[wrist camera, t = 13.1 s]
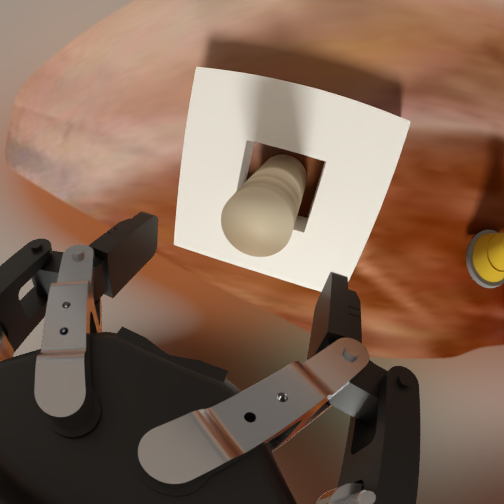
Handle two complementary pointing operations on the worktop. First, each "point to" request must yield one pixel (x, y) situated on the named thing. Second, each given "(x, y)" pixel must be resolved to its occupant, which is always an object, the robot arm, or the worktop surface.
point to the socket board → (292, 139)
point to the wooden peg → (265, 207)
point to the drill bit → (486, 258)
